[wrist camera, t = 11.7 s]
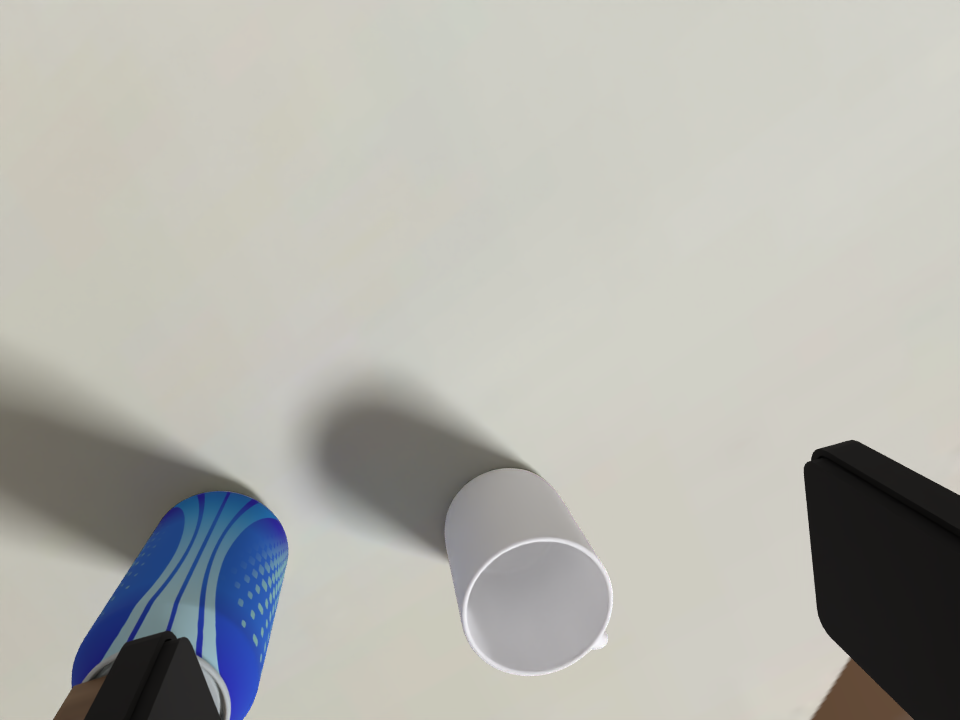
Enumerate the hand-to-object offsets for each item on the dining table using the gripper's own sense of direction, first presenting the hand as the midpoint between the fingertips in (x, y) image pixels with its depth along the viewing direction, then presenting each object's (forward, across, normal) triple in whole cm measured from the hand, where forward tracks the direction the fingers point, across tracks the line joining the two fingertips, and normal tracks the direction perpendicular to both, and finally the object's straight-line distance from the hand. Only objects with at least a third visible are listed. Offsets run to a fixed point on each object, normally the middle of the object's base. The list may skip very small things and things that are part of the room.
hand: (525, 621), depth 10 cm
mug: (+36, -4, +19) cm, 41 cm away
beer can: (+36, +16, +14) cm, 41 cm away
